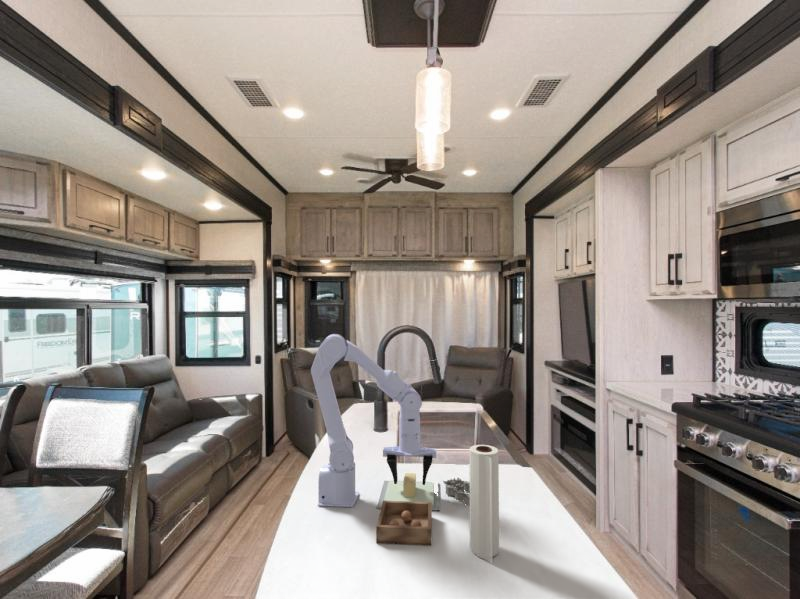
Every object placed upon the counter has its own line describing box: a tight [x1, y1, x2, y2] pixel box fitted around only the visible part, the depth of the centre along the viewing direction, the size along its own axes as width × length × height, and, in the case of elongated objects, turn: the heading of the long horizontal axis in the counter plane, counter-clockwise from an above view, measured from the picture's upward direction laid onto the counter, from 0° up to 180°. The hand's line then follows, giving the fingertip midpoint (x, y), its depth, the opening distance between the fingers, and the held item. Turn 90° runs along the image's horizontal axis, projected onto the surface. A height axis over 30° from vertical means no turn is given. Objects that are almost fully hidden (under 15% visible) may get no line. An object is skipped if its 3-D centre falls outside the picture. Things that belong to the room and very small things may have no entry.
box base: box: [375, 501, 433, 547], centre depth 94 cm, size 12×12×4 cm
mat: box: [376, 480, 441, 510], centre depth 111 cm, size 16×16×1 cm
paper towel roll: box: [469, 444, 500, 564], centre depth 86 cm, size 7×6×21 cm
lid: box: [384, 472, 434, 508], centre depth 111 cm, size 13×13×5 cm
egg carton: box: [442, 477, 470, 506], centre depth 111 cm, size 11×8×4 cm
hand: (409, 482), depth 111 cm, fingers open, 7 cm apart
